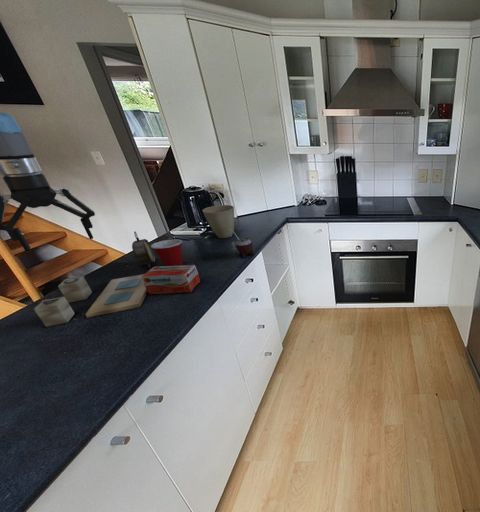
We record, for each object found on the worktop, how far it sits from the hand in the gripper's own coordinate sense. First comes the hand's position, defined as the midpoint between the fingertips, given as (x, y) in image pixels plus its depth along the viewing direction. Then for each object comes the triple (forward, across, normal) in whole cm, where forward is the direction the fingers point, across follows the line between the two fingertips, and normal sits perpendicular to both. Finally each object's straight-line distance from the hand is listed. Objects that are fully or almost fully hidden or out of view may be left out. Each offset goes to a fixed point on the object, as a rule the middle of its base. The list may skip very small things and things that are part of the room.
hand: (61, 243), depth 86 cm
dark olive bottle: (+24, +18, +23) cm, 38 cm away
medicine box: (+24, +22, -7) cm, 33 cm away
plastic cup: (+24, +26, +13) cm, 37 cm away
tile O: (+24, -4, +9) cm, 26 cm away
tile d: (+24, -8, -4) cm, 25 cm away
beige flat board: (+24, +8, +1) cm, 25 cm away
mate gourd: (+24, +53, +4) cm, 58 cm away
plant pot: (+24, +54, +37) cm, 70 cm away
